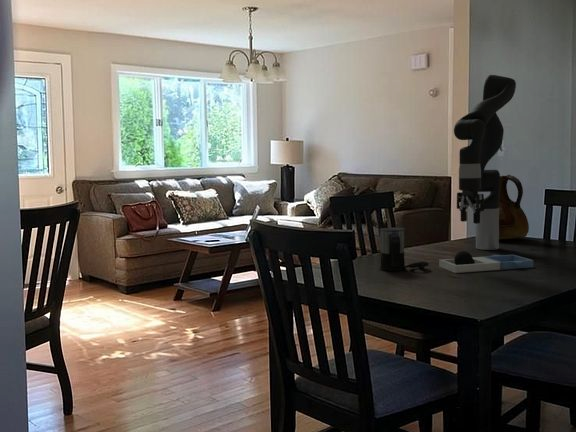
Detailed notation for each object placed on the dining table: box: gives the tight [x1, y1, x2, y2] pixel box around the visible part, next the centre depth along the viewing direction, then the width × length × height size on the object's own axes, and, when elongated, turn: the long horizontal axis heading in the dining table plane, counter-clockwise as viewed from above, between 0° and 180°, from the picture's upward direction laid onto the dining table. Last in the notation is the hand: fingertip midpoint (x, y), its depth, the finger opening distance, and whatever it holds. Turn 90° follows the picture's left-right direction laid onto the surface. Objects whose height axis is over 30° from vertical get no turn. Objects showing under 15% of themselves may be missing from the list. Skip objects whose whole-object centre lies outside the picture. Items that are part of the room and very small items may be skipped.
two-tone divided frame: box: [438, 254, 534, 274], centre depth 236 cm, size 17×30×3 cm, turn 102°
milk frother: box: [379, 227, 430, 272], centre depth 235 cm, size 14×16×15 cm
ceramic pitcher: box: [499, 174, 530, 241], centre depth 298 cm, size 20×20×30 cm
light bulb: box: [453, 250, 477, 265], centre depth 233 cm, size 6×6×10 cm
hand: (470, 222), depth 232 cm, fingers open, 8 cm apart
